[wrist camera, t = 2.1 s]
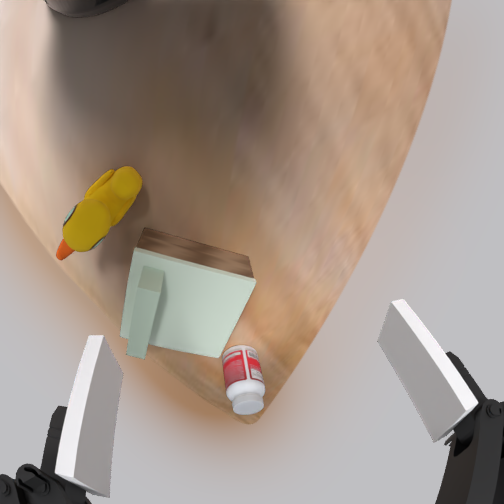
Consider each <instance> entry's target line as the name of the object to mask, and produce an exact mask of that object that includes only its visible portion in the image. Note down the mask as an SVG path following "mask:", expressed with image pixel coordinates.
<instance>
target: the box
mask: <svg viewBox="0 0 504 504" xmlns="http://www.w3.org/2000/svg"><path fill="white" fill-rule="evenodd" d="M137 248H141V249H145V250H148V251H152V252H155V253H159V254H163V255H166V256H170V257H174V258H177V259H181V260H185V261H188V262H192V263H196V264H200V265H203V266H207V267H211V268H215V269H219V270H223V271H226V272H230V273H234V274H238V275H242V276H246V277H250V278H254V276H253V272H252V269H251V265H250V261H249V258H248V256H244V255H240V254H237V253H233V252H230V251H226V250H222V249H219V248H215V247H212V246H208V245H205V244H201V243H197V242H194V241H190V240H187V239H183V238H180V237H176V236H172V235H169V234H165V233H162V232H158V231H155V230H151V229H148V228H144V230H143V233H142V235H141V237H140V240H139V242H138V245H137Z"/></svg>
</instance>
